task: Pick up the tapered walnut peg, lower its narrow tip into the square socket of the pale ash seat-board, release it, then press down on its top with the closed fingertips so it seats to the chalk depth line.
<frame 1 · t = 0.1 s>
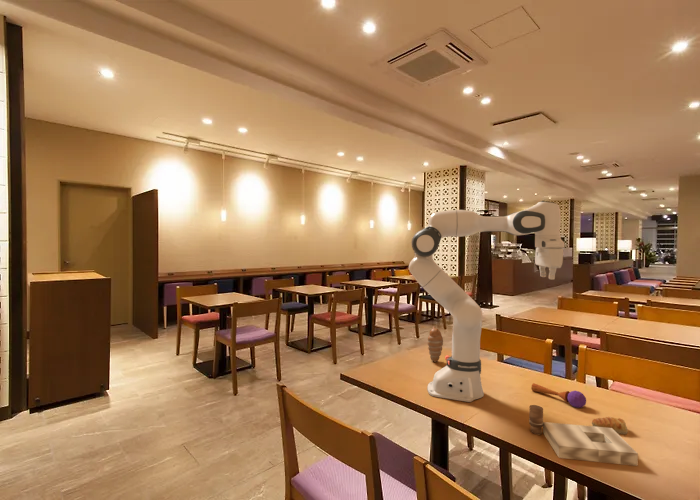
hand: (547, 278, 142), 48 cm above the table, fingers open, 8 cm apart
peg: (536, 432, 118), on the table
brown ribbed tapered oval: (434, 362, 188), on the table
pastry: (611, 430, 120), on the table
seat board: (586, 447, 109), on the table
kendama: (557, 400, 143), on the table
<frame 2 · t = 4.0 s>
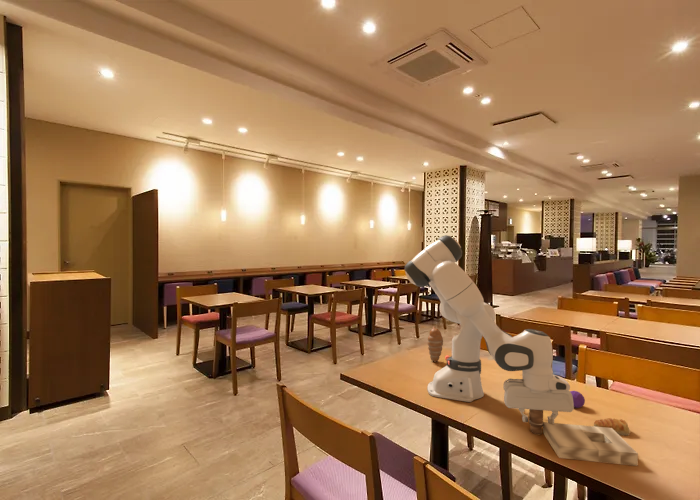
hand: (538, 422, 118), 3 cm above the table, fingers open, 6 cm apart
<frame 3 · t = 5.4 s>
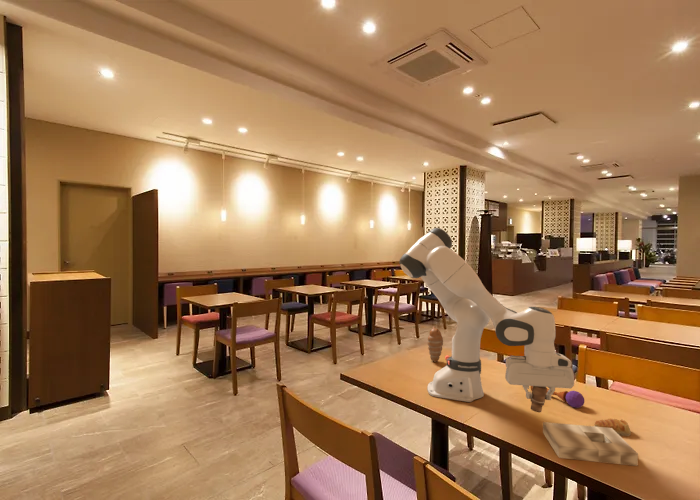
hand: (538, 398, 119), 11 cm above the table, fingers closed on peg, 4 cm apart
peg: (535, 409, 119), point 7 cm above the table, tilted 9°, touching gripper
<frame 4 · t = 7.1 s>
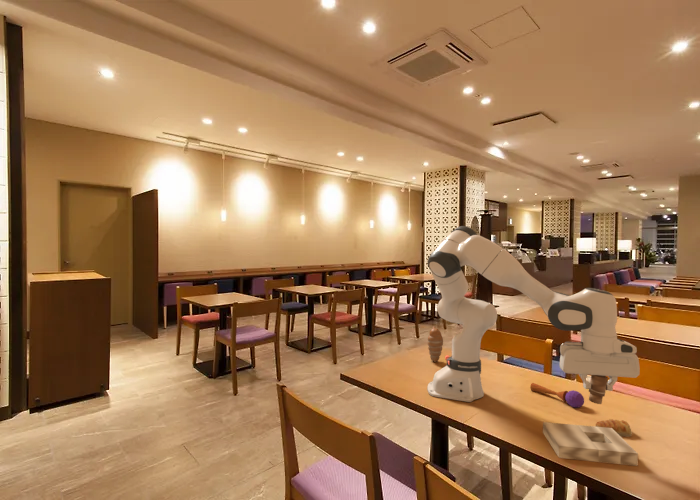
hand: (597, 389, 108), 18 cm above the table, fingers closed on peg, 4 cm apart
peg: (595, 401, 108), point 14 cm above the table, tilted 8°, touching gripper
when the fingers open (5 cm above the table, at t = 9.3 s): peg drops 1 cm, resting in seat board.
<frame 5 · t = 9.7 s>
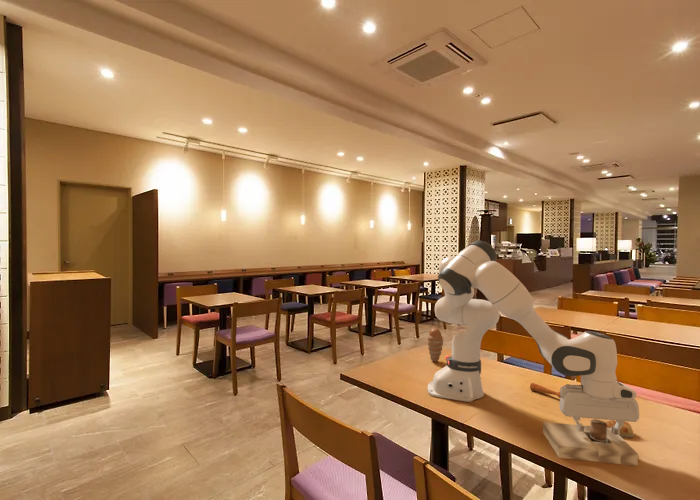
hand: (597, 432, 108), 5 cm above the table, fingers open, 8 cm apart
peg: (598, 448, 108), resting in seat board
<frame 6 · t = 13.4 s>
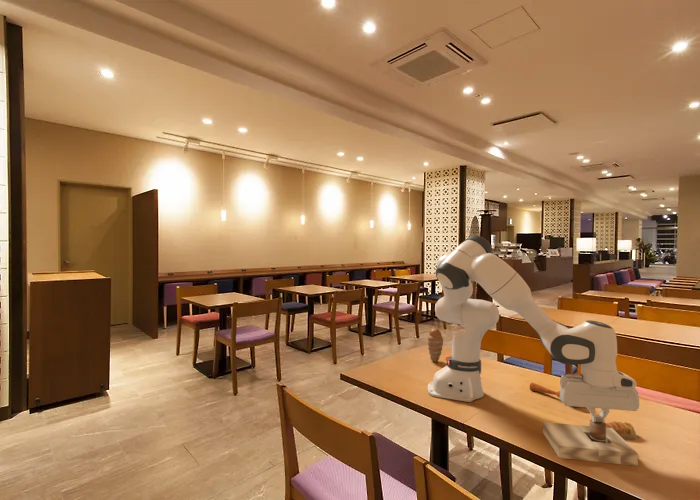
hand: (597, 421, 108), 8 cm above the table, fingers closed
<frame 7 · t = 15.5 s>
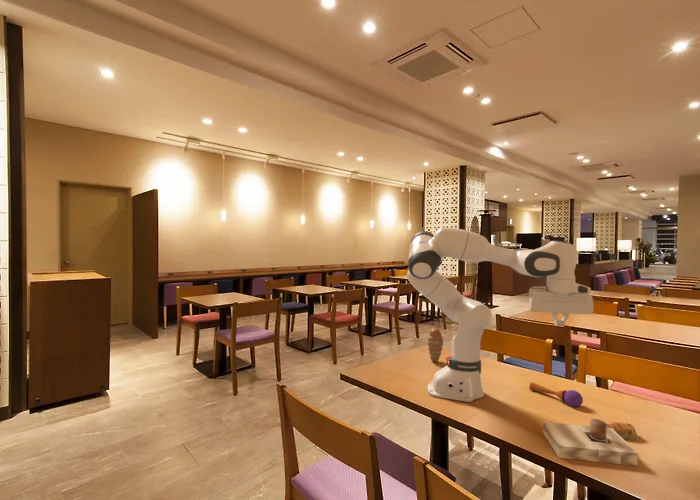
hand: (559, 325, 129), 32 cm above the table, fingers closed
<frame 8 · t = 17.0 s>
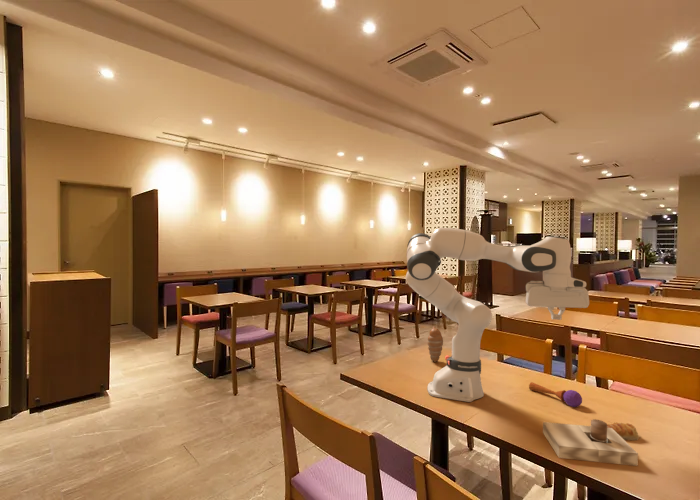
hand: (556, 319, 131), 34 cm above the table, fingers closed
at the end: peg 0.2 cm from the target spot on the seat board, point 0.0 cm above the seat board's base; peg tilted 2°; the gripper is holding nothing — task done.
